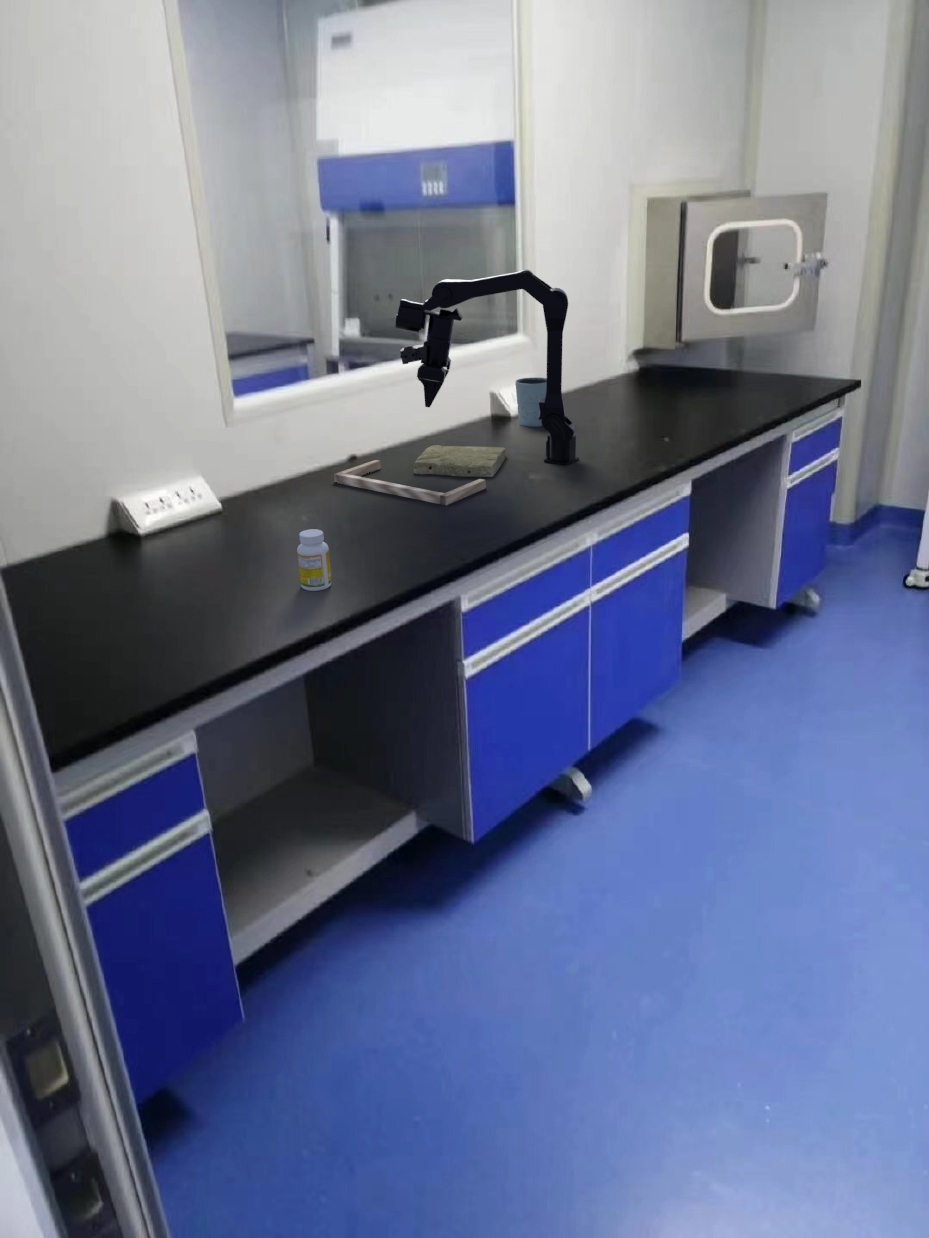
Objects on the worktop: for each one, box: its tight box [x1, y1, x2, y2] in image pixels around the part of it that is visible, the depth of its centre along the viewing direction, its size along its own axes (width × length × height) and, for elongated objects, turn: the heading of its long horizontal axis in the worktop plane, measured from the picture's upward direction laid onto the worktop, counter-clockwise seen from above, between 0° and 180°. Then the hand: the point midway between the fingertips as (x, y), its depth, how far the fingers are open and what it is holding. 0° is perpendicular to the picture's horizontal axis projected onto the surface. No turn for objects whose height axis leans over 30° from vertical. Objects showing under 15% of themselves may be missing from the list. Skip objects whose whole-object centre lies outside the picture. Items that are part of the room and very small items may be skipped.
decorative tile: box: [413, 444, 507, 478], centre depth 227 cm, size 19×20×4 cm
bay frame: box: [333, 459, 487, 506], centre depth 214 cm, size 33×14×2 cm, turn 53°
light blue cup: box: [515, 377, 547, 428], centre depth 263 cm, size 10×10×12 cm
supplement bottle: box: [296, 528, 332, 592], centre depth 160 cm, size 5×5×10 cm
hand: (429, 403), depth 225 cm, fingers open, 9 cm apart
